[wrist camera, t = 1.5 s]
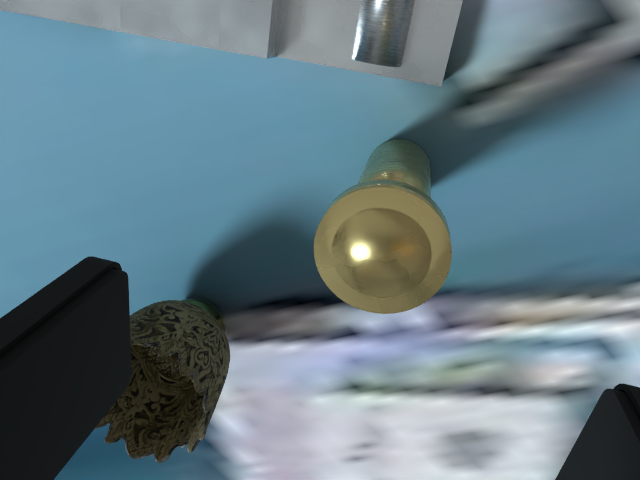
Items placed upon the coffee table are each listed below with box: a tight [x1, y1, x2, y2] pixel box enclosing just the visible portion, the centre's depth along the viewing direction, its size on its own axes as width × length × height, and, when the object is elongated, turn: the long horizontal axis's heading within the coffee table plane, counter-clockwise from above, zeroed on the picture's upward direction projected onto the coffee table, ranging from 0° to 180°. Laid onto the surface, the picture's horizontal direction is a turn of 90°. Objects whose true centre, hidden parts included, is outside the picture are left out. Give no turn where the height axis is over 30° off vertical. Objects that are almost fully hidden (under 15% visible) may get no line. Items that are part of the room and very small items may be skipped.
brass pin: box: [314, 139, 452, 314], centre depth 20 cm, size 4×4×10 cm
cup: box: [95, 298, 230, 463], centre depth 27 cm, size 8×7×8 cm
